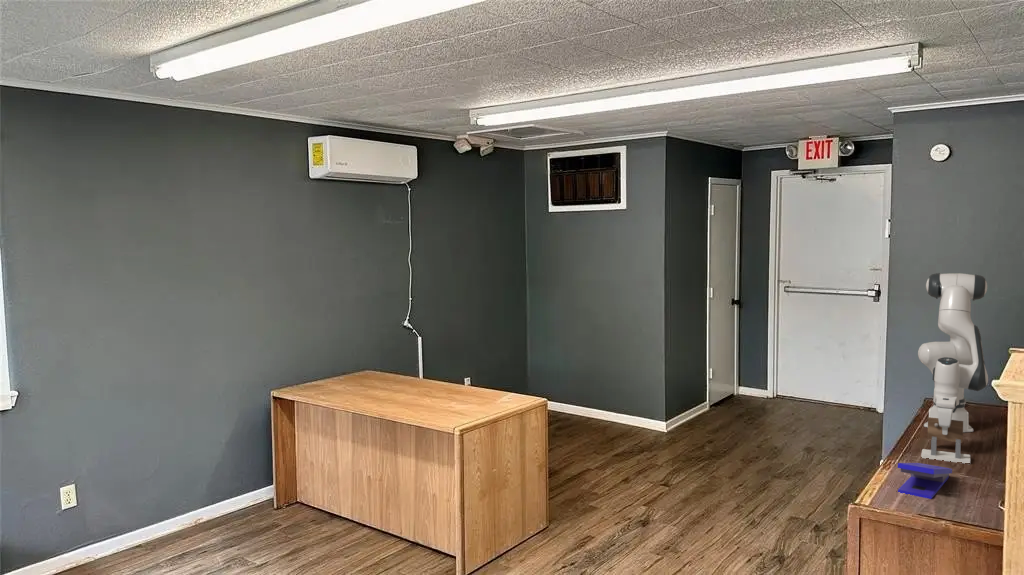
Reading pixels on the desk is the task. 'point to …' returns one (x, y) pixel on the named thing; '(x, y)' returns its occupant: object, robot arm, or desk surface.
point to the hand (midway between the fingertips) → (945, 432)
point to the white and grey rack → (945, 453)
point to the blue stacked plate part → (923, 479)
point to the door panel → (953, 431)
